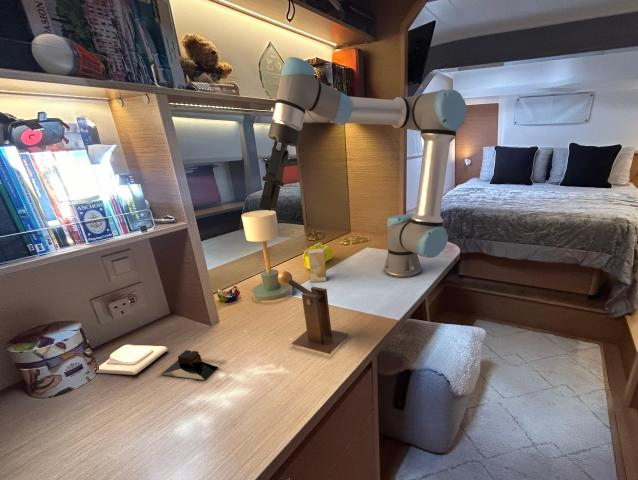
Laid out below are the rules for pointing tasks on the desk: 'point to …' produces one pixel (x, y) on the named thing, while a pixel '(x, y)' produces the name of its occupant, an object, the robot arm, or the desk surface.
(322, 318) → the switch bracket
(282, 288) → the lamp
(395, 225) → the robot arm
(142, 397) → the desk surface
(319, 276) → the cosmetic box
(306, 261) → the yellow toy chassis
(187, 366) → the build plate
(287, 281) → the lever with ball knob
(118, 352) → the light switch
